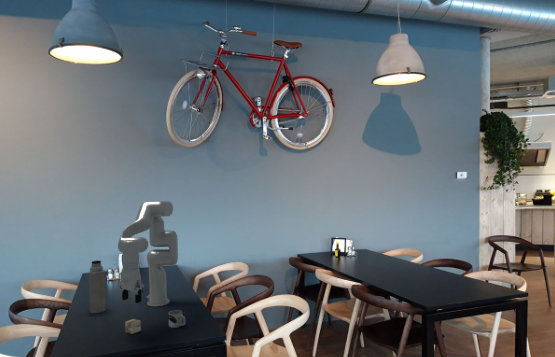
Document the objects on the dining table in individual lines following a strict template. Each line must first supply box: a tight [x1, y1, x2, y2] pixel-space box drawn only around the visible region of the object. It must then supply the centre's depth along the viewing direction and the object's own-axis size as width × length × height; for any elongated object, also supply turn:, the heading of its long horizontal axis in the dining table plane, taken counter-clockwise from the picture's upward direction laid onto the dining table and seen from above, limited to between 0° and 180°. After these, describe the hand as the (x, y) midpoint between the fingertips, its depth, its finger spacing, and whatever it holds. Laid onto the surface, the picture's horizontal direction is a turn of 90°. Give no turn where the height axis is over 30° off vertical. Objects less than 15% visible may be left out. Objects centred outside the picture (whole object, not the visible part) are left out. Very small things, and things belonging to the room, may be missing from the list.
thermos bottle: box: [88, 260, 107, 314], centre depth 239 cm, size 8×8×28 cm
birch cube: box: [124, 318, 142, 335], centre depth 207 cm, size 5×5×5 cm
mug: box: [168, 309, 186, 329], centre depth 213 cm, size 10×7×7 cm, turn 56°
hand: (131, 300), depth 206 cm, fingers open, 9 cm apart
